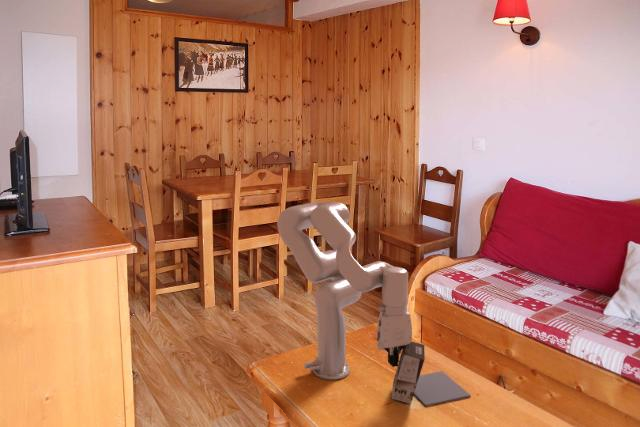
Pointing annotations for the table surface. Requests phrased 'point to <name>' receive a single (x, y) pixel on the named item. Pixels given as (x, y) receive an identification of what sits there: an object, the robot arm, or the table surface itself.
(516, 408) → the table surface
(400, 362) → the coffee box
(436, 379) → the mat
